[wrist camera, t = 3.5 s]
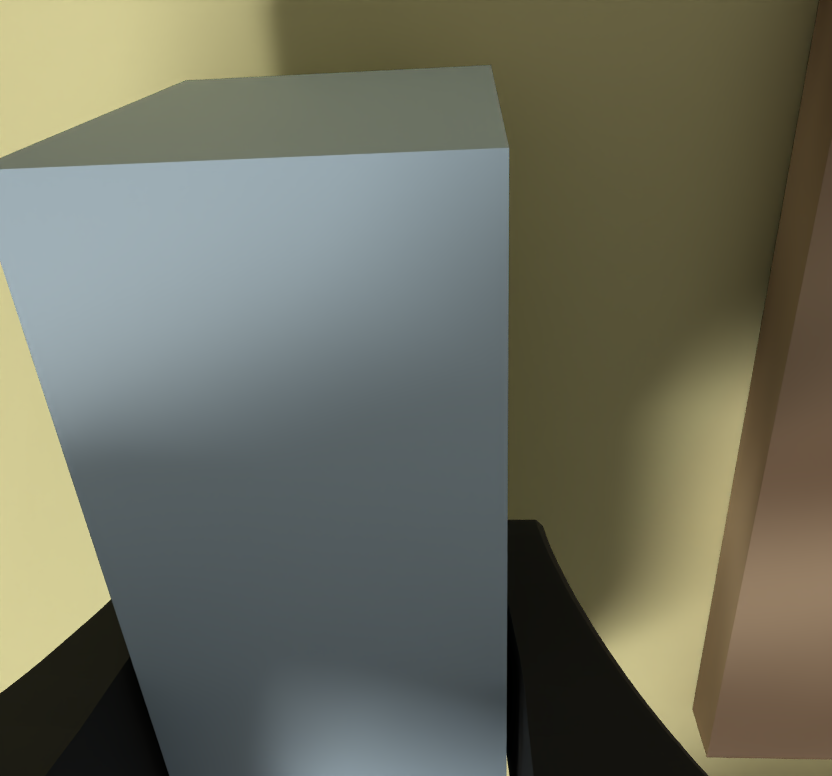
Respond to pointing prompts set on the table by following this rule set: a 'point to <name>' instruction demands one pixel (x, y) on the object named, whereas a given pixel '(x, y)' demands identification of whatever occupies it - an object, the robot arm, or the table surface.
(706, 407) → the table surface
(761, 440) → the peg plate
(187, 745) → the blue-grey rectangular block
